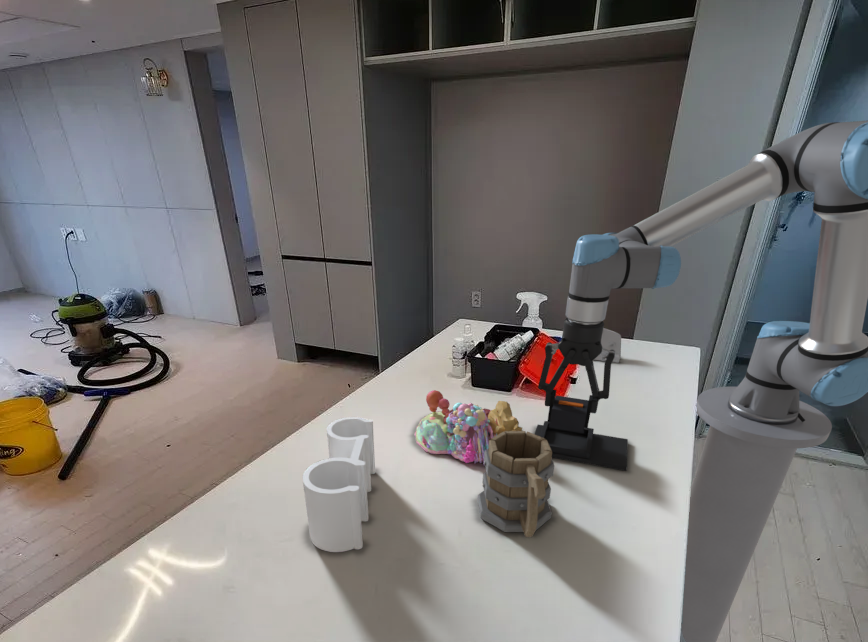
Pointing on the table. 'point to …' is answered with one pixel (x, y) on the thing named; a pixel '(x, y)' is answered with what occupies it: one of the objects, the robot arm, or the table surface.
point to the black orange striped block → (569, 414)
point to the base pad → (585, 446)
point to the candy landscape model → (462, 428)
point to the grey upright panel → (611, 344)
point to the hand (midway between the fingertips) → (567, 421)
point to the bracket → (341, 486)
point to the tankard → (516, 482)
